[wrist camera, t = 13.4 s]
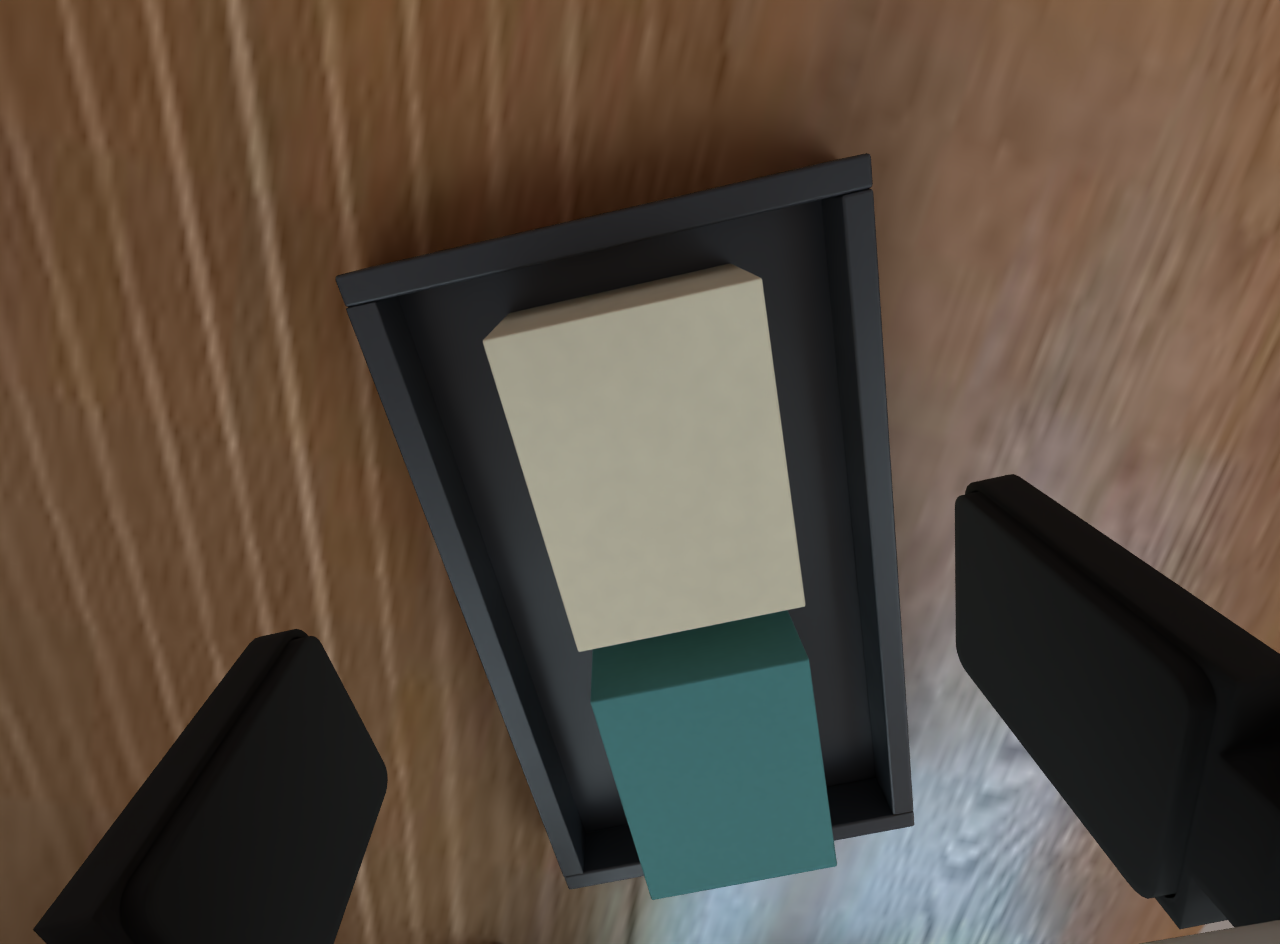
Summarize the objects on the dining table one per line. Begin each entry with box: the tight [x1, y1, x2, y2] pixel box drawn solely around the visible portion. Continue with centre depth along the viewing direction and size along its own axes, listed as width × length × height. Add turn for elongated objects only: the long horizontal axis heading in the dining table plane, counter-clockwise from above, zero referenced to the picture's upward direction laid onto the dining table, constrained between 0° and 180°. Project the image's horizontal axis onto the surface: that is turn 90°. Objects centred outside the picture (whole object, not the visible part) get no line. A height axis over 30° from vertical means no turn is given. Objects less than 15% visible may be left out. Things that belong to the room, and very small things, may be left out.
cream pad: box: [483, 264, 805, 652], centre depth 18 cm, size 9×6×4 cm
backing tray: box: [335, 153, 914, 889], centre depth 21 cm, size 24×14×2 cm, turn 12°
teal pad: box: [590, 610, 837, 900], centre depth 22 cm, size 9×6×4 cm
